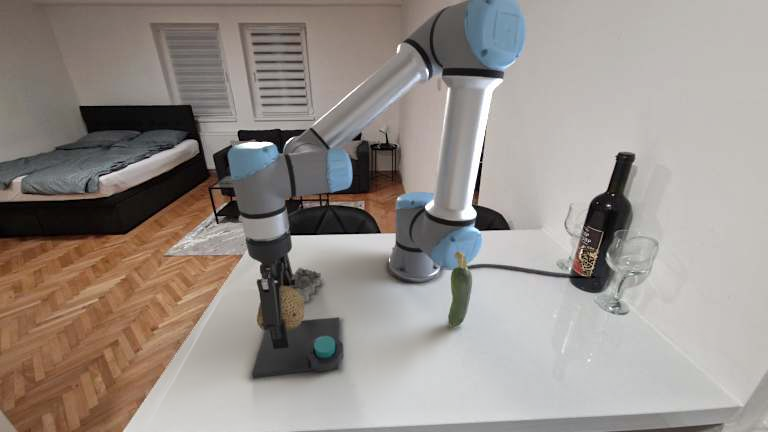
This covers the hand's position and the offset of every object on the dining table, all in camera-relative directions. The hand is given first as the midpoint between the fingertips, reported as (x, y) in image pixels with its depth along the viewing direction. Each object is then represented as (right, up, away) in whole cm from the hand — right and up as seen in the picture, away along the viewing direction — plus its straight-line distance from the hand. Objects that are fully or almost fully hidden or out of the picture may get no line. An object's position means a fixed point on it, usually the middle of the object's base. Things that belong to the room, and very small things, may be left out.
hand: (285, 328), depth 63 cm
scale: (+3, -4, +1) cm, 5 cm away
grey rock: (-1, +3, +18) cm, 18 cm away
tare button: (+9, -3, -4) cm, 10 cm away
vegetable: (+37, -2, +5) cm, 37 cm away
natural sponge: (0, 0, 0) cm, 0 cm away
